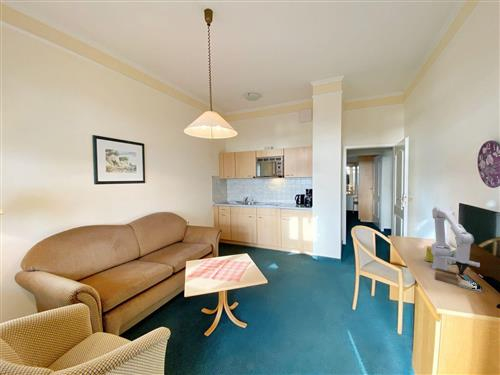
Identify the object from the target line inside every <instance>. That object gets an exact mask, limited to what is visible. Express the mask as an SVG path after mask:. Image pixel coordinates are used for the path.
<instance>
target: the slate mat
mask: <svg viewBox="0 0 500 375" xmlns="http://www.w3.org/2000/svg"><path fill="white" fill-rule="evenodd" d="M457 286H458V287H459V288H464V289H466V290H469V291H470V290H471V291H474V292H478V293H481V294H483V291H482V288H481V287H480V289H472V288H470V287H466V286H462V285H459V284H458V283H457Z"/></svg>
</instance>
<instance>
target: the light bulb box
mask: <svg viewBox="0 0 500 375" xmlns="http://www.w3.org/2000/svg"><path fill="white" fill-rule="evenodd" d="M450 249H451V252H452V254H451V256H450V257H455V258H456V250H457V247H456V248H455V247H451V246H450ZM453 264H456V262H455V261H450V260H447V265H453Z"/></svg>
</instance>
